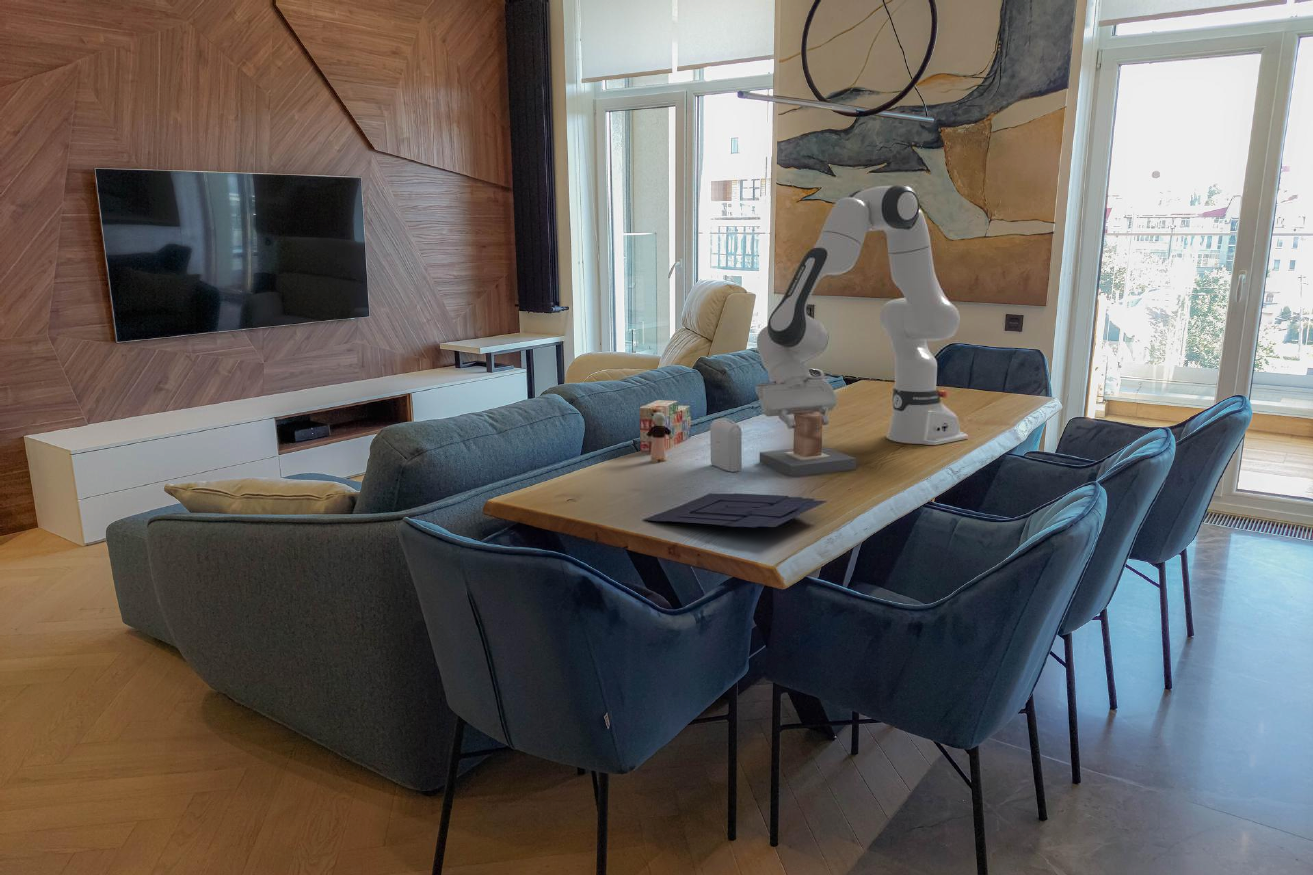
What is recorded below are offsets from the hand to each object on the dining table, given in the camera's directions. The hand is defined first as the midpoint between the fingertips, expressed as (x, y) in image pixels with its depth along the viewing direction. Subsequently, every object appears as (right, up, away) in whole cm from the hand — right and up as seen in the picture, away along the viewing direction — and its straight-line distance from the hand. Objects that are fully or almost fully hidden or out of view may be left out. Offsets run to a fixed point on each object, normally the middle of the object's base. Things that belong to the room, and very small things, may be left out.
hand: (809, 425), depth 218 cm
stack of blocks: (-35, -5, +30) cm, 46 cm away
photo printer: (-20, -11, +2) cm, 23 cm away
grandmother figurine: (-37, -9, +11) cm, 39 cm away
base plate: (0, -10, +3) cm, 10 cm away
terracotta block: (0, -7, +2) cm, 7 cm away
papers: (-21, -20, -39) cm, 49 cm away
